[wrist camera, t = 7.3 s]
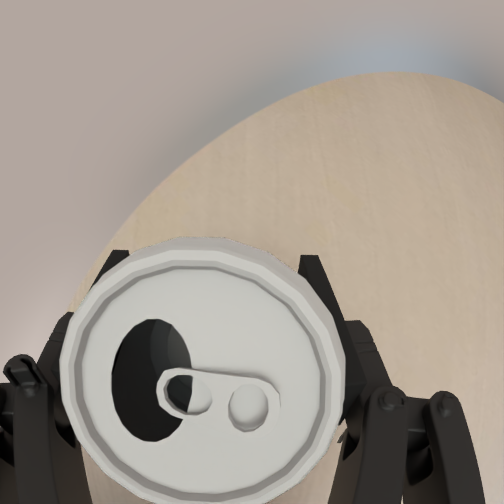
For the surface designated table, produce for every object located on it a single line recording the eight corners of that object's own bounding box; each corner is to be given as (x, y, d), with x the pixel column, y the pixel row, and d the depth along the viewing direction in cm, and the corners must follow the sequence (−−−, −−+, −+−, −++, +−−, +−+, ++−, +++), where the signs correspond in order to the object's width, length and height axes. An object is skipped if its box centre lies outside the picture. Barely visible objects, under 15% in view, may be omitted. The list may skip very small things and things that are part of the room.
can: (165, 275, 17) (67, 191, 6) (288, 296, 18) (393, 246, 6) (146, 394, 16) (36, 482, 4) (269, 416, 16) (332, 540, 4)
